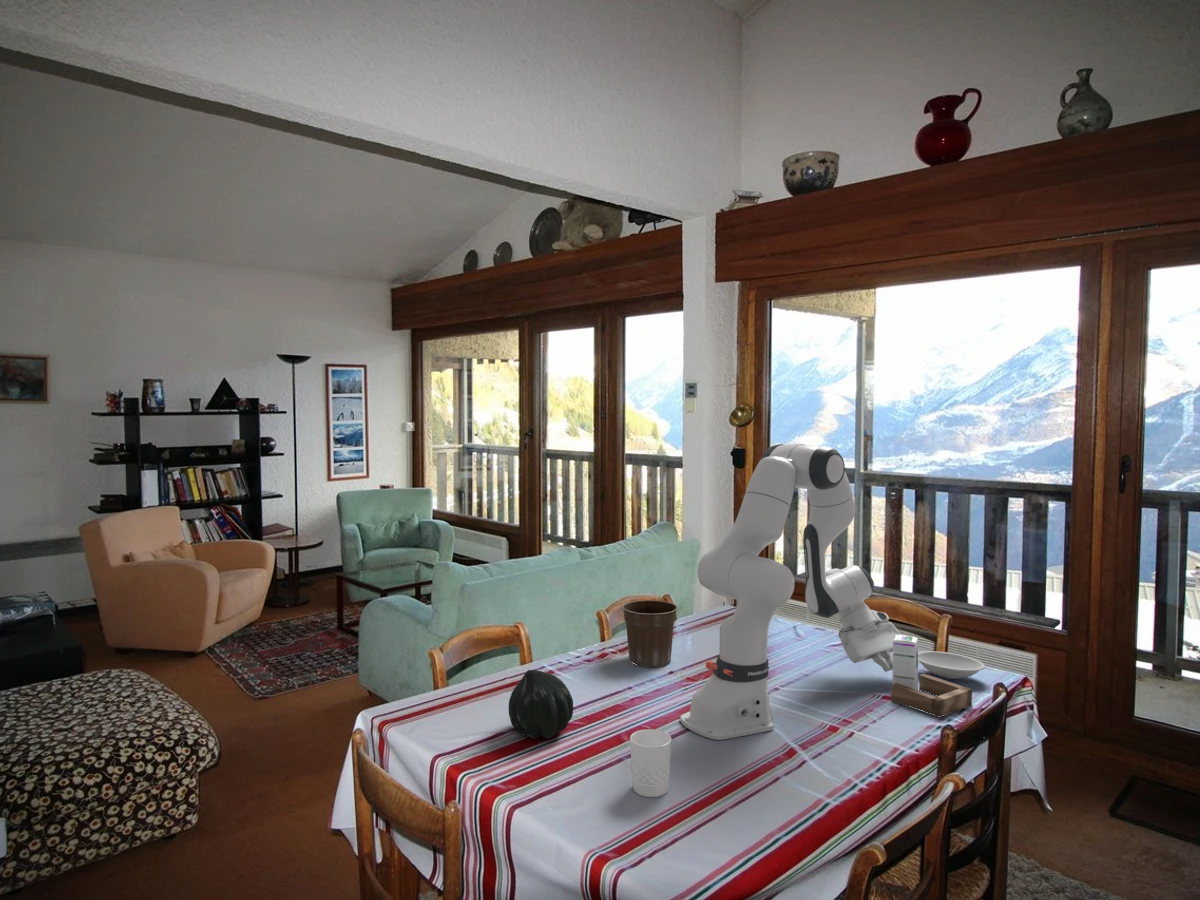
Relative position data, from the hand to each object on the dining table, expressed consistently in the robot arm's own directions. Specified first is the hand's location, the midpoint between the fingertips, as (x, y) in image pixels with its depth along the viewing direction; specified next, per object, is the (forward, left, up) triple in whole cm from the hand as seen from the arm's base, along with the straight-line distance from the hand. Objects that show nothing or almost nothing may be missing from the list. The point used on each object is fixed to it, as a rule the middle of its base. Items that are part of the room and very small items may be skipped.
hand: (891, 669), depth 196 cm
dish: (+20, -4, -5) cm, 21 cm away
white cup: (-85, -7, -5) cm, 86 cm away
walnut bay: (0, -12, -5) cm, 13 cm away
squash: (-90, +27, -5) cm, 94 cm away
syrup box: (0, -4, -5) cm, 7 cm away
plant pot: (-40, +52, -5) cm, 66 cm away
